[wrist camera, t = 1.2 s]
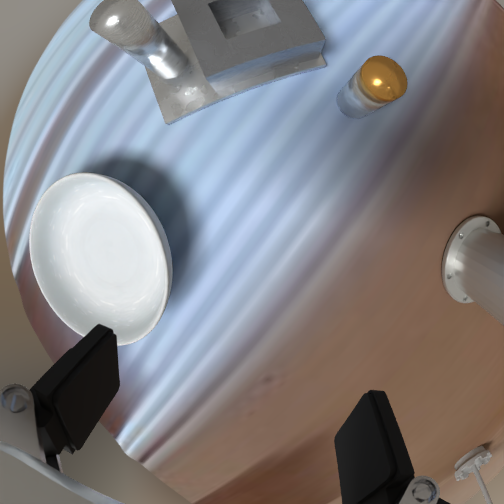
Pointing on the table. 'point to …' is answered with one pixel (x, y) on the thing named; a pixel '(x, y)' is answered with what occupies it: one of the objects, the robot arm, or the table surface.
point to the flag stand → (474, 467)
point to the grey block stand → (212, 47)
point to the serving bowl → (101, 256)
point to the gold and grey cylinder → (372, 87)
